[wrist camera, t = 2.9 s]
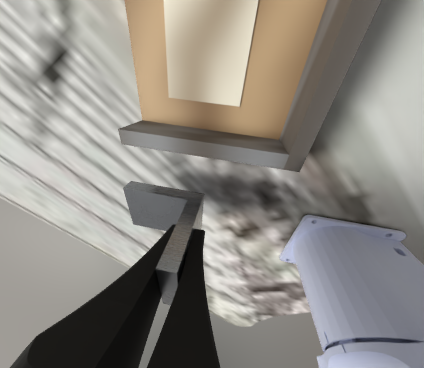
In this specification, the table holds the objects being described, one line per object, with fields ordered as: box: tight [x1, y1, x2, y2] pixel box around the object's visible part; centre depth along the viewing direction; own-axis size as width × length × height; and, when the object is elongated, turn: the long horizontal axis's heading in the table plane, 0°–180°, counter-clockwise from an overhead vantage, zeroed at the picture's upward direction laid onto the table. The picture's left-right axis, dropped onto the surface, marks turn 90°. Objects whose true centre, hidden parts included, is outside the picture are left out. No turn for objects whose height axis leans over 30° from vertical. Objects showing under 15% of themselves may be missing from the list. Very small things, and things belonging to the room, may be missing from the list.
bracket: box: [123, 181, 204, 305], centre depth 11 cm, size 6×4×6 cm, turn 85°
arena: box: [118, 0, 381, 172], centre depth 8 cm, size 12×12×4 cm
